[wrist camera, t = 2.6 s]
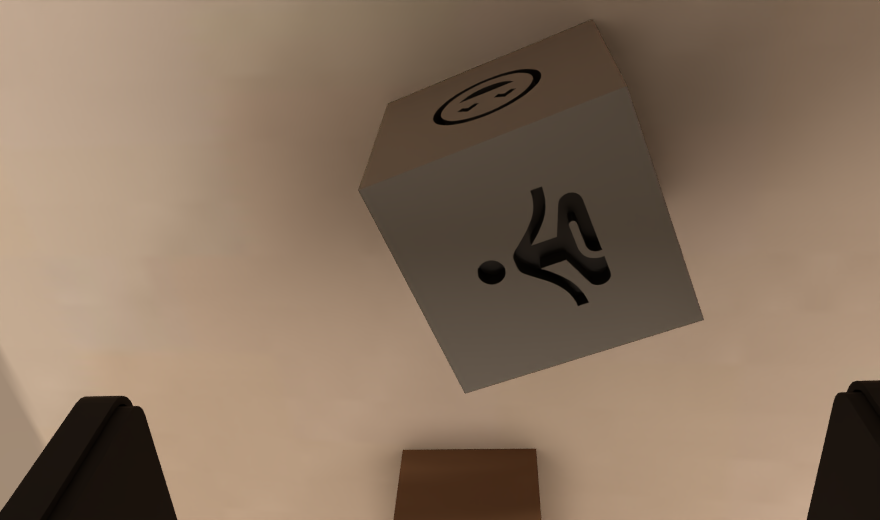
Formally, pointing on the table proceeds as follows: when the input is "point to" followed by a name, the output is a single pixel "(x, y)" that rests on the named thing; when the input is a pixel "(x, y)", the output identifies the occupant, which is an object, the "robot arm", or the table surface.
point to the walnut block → (468, 485)
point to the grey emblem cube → (528, 212)
